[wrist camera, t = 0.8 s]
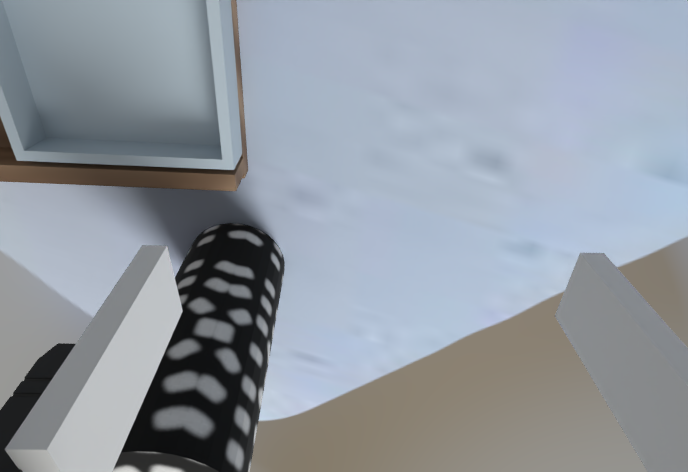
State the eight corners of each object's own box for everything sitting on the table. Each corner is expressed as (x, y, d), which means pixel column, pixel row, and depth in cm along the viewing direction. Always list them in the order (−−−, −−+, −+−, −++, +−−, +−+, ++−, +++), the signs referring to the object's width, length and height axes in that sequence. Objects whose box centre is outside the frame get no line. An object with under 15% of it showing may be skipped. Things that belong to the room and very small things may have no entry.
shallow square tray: (-39, -106, 23) (-86, -115, 21) (224, -88, 24) (210, -95, 21) (43, 144, 31) (16, 160, 28) (242, 153, 31) (234, 170, 29)
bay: (-246, -164, 23) (-362, -189, 19) (227, -130, 24) (206, -148, 20) (-86, 155, 32) (-142, 180, 29) (248, 170, 33) (236, 196, 30)
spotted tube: (170, 243, 37) (29, 477, 20) (255, 209, 35) (180, 432, 18) (222, 310, 41) (141, 551, 24) (300, 282, 39) (273, 520, 22)
